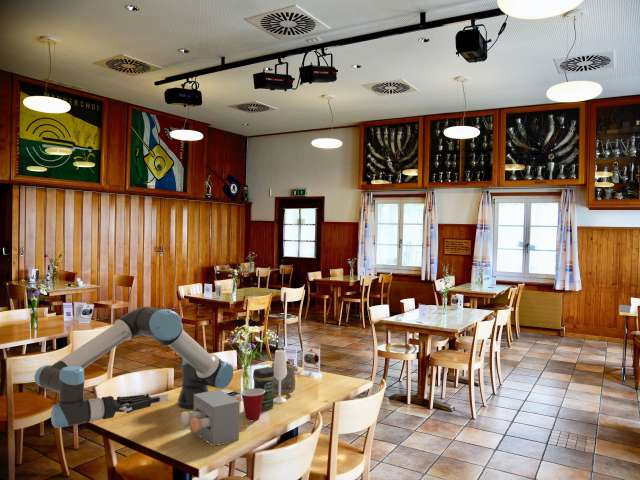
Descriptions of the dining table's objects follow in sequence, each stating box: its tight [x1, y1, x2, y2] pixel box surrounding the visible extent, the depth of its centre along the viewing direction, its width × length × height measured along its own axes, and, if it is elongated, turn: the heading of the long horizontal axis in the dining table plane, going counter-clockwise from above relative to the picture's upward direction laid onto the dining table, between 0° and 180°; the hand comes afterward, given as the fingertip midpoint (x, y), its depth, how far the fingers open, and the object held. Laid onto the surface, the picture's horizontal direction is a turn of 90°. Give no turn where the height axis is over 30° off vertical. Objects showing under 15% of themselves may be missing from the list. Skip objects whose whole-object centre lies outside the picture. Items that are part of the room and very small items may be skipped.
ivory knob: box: [179, 410, 201, 427], centre depth 198 cm, size 5×11×5 cm, turn 128°
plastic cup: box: [240, 388, 265, 422], centre depth 217 cm, size 11×11×12 cm
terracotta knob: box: [188, 417, 211, 434], centre depth 191 cm, size 5×11×5 cm, turn 128°
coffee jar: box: [252, 366, 274, 412], centre depth 230 cm, size 10×8×19 cm
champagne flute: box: [273, 349, 287, 404], centre depth 241 cm, size 7×7×24 cm
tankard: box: [271, 360, 299, 395], centre depth 255 cm, size 20×13×15 cm, turn 33°
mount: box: [193, 389, 241, 447], centre depth 198 cm, size 18×11×15 cm, turn 38°
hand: (166, 396), depth 190 cm, fingers closed
